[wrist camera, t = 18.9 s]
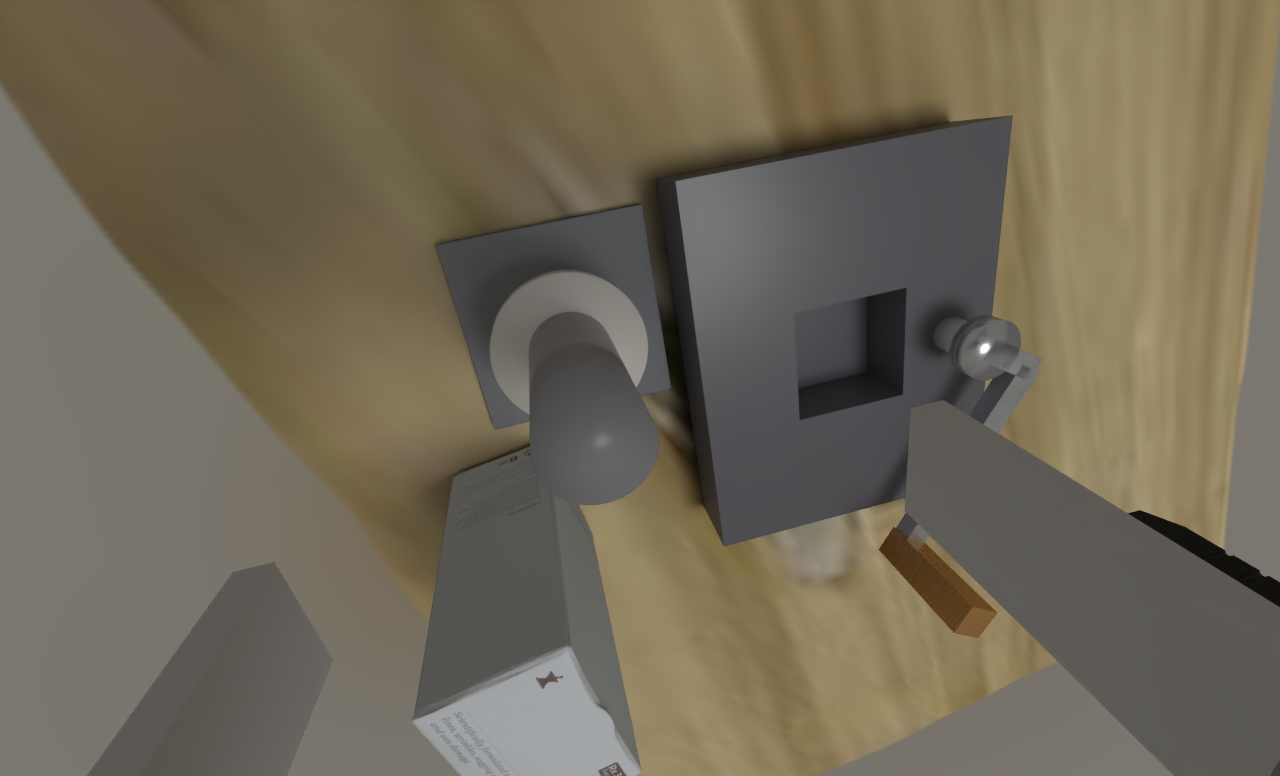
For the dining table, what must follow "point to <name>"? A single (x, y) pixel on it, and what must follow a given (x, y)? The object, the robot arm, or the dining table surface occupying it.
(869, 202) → the socket block
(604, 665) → the skincare box
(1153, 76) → the dining table surface
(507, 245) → the pad
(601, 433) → the plug
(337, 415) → the dining table surface
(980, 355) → the clip
